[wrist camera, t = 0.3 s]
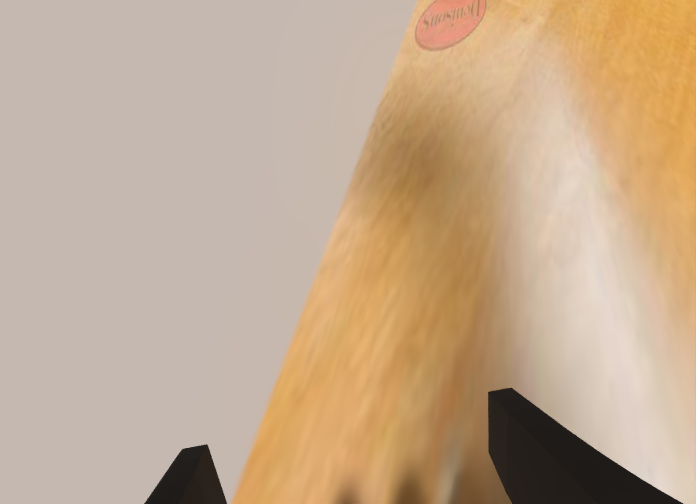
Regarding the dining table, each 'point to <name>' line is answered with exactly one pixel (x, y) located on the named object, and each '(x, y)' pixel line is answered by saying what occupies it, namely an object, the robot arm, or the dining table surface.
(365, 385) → the dining table surface
